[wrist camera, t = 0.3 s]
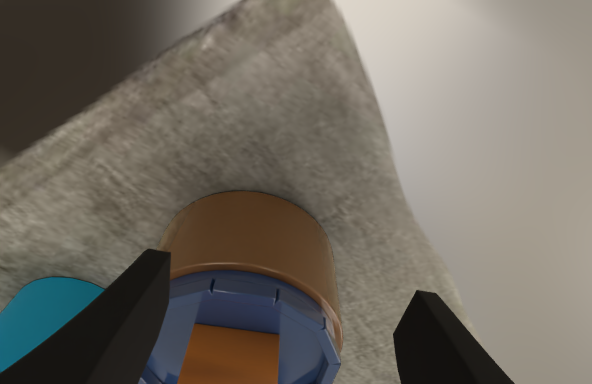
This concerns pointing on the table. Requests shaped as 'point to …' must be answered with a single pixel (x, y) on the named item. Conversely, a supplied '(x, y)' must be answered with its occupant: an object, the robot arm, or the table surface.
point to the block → (230, 357)
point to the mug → (40, 314)
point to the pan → (251, 284)
